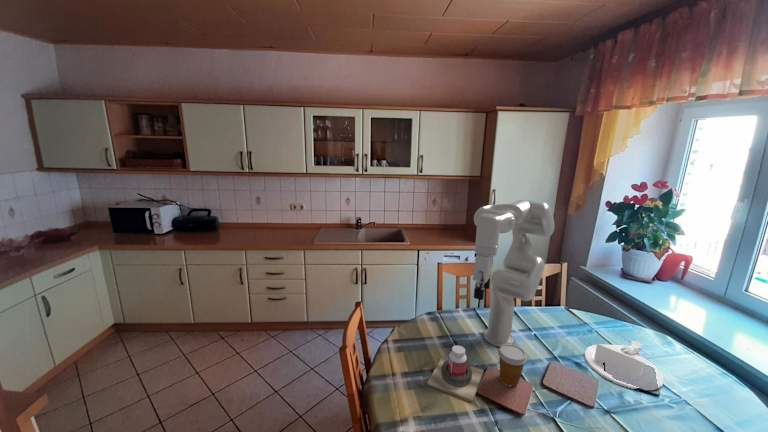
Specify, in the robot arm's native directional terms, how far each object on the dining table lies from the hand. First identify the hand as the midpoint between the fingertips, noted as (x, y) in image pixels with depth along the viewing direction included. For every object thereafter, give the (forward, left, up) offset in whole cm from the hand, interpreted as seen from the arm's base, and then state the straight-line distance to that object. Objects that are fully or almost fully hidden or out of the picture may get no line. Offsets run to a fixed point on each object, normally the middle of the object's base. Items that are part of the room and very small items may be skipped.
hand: (481, 293), depth 117 cm
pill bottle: (+11, -4, -30) cm, 32 cm away
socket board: (+11, -4, -30) cm, 32 cm away
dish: (-28, +50, -31) cm, 65 cm away
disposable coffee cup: (+2, +13, -31) cm, 33 cm away
